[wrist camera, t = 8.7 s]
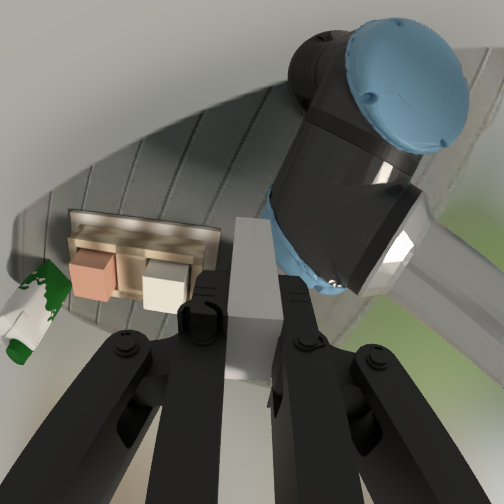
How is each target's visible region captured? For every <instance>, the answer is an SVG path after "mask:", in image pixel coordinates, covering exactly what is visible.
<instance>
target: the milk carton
mask: <svg viewBox="0 0 504 504" xmlns="http://www.w3.org/2000/svg"><path fill="white" fill-rule="evenodd" d="M71 287H72V283H71V282H70V281H69V280H68V279H67V278H66V277H65V276H64V274H63V273H62V272H61V271H60V270H59V269H58V268H57V267H56V266H55V265H54V264H53V263H52V262H51V260H50V259H49V260H48V261H47V262H45V263H44V264H43V265H41V266H40V267H39V268H38V269H36V270H35V271H34V272H32V273H31V274H30V275H29V276H28V277H27V278H26V279H25V280H24V281H23V283H22V284H21V285H20V286H19V287H18V289H17V290H16V291H15V292H14V294H13V295H12V296H11V297H10V299H9V300H8V301H7V303H6V305H5V306H4V307H3V309H2V310H1V312H0V342H1V343H2V344H3V345H4V346H5V347H6V348H7V349H6V353H7V355H8V356H9V357H10V358H11V359H12V360H13V361H14V362H15V363H17V364H20V365H24V364H25V362H26V360H27V359H28V357H29V356H30V355H31V354H32V352H33V351H34V350H35V349H36V347H37V346H38V344H39V342H40V341H41V339H42V337H43V336H44V334H45V332H46V331H47V329H48V327H49V326H50V324H51V322H52V321H53V319H54V317H55V316H56V314H57V313H58V311H59V309H60V308H61V306H62V304H63V302H64V301H65V299H66V297H67V295H68V293H69V291H70V289H71Z"/></svg>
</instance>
